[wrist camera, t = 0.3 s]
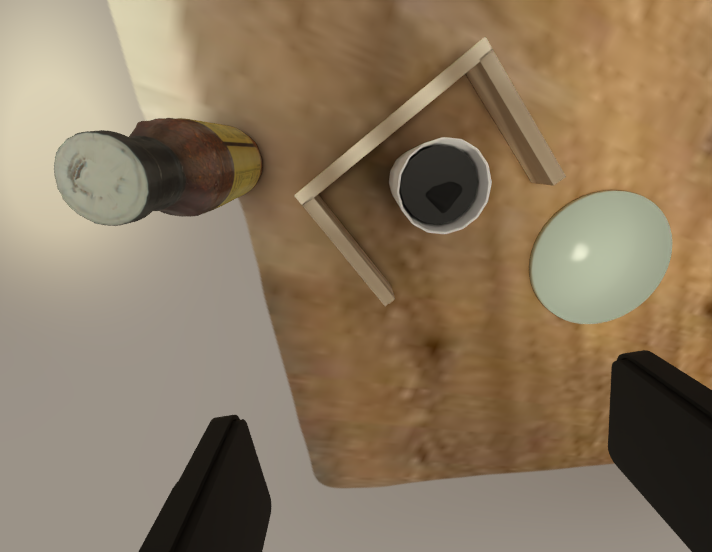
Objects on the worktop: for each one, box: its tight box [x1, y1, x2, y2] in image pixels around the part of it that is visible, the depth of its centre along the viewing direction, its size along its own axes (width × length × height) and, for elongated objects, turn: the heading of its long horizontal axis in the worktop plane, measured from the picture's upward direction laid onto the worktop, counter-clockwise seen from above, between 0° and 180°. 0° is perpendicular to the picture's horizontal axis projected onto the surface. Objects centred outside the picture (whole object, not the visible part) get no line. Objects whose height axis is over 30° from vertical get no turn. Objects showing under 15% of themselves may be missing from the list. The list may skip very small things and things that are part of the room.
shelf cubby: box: [294, 37, 566, 306], centre depth 33 cm, size 19×13×4 cm
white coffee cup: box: [389, 137, 492, 234], centre depth 30 cm, size 7×7×10 cm
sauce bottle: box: [54, 118, 262, 226], centre depth 25 cm, size 6×6×20 cm
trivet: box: [529, 190, 672, 324], centre depth 37 cm, size 14×14×1 cm
